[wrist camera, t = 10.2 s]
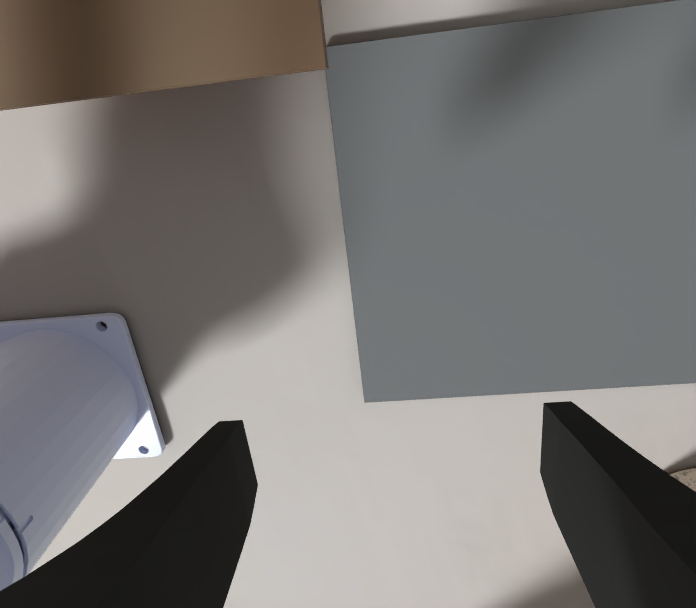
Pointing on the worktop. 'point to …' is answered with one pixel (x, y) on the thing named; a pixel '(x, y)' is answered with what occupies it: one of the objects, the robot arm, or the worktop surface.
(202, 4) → the walnut lid
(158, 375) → the worktop surface
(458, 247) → the rubber mat
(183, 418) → the worktop surface
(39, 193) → the worktop surface
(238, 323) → the worktop surface
